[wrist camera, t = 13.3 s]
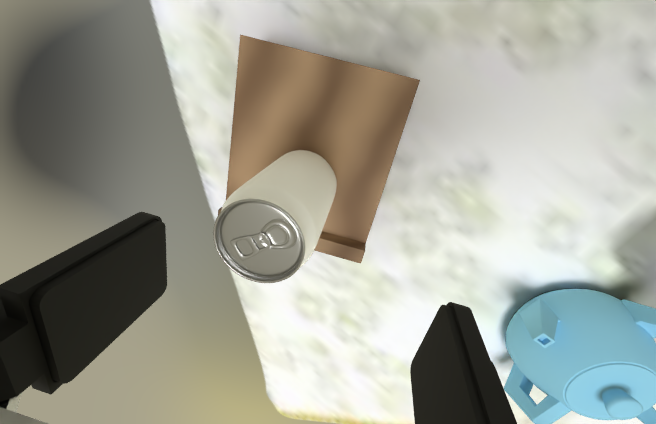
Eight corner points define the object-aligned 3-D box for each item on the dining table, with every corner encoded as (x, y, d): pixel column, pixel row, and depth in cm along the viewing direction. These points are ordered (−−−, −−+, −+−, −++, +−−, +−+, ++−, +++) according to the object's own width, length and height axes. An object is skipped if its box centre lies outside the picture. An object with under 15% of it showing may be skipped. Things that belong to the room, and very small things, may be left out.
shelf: (411, 81, 28) (422, 79, 22) (363, 229, 36) (360, 263, 29) (265, 44, 29) (232, 31, 22) (247, 197, 36) (217, 222, 29)
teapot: (500, 275, 35) (547, 347, 26) (646, 272, 32) (763, 352, 23) (489, 365, 41) (525, 452, 31) (613, 369, 38) (695, 467, 28)
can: (348, 200, 28) (330, 272, 17) (290, 221, 30) (241, 299, 19) (319, 137, 26) (279, 174, 15) (259, 164, 28) (185, 214, 17)
